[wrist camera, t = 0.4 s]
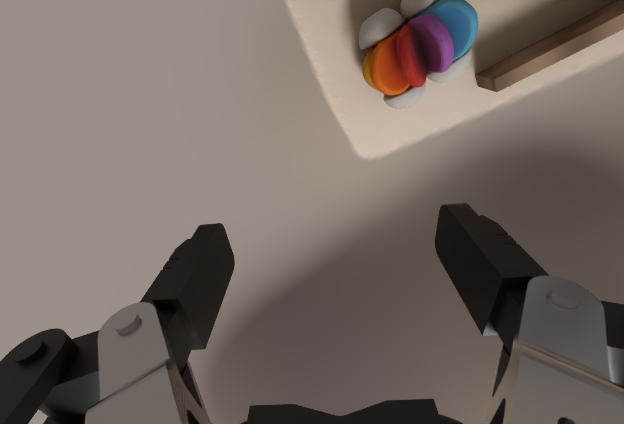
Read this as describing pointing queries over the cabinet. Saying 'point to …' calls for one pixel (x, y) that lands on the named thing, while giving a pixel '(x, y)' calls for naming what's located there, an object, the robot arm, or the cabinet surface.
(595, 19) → the bay
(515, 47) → the cabinet surface
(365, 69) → the rainbow disc stack
